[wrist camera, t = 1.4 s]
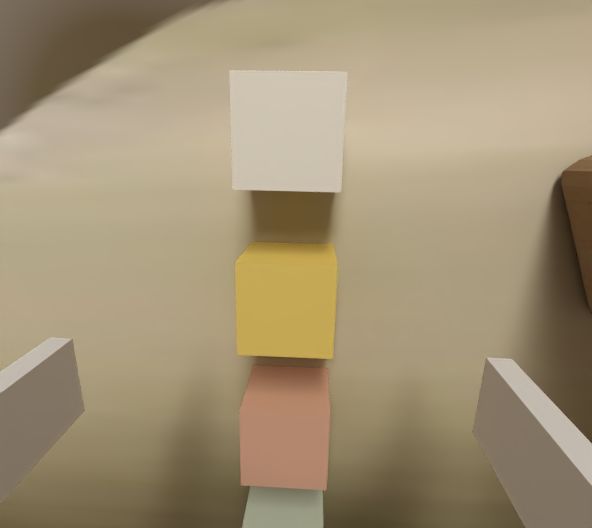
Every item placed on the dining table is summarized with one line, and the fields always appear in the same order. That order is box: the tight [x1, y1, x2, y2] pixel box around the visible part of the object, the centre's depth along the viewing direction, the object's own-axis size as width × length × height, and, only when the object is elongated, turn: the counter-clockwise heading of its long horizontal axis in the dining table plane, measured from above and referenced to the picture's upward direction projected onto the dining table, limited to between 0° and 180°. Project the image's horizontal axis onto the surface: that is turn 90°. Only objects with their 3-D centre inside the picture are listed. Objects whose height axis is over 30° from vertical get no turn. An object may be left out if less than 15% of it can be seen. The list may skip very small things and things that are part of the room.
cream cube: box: [230, 70, 347, 192], centre depth 19 cm, size 5×5×5 cm
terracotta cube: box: [239, 365, 331, 490], centre depth 23 cm, size 5×5×5 cm
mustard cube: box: [235, 242, 338, 359], centre depth 21 cm, size 5×5×5 cm
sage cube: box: [242, 486, 323, 528], centre depth 26 cm, size 5×5×5 cm
